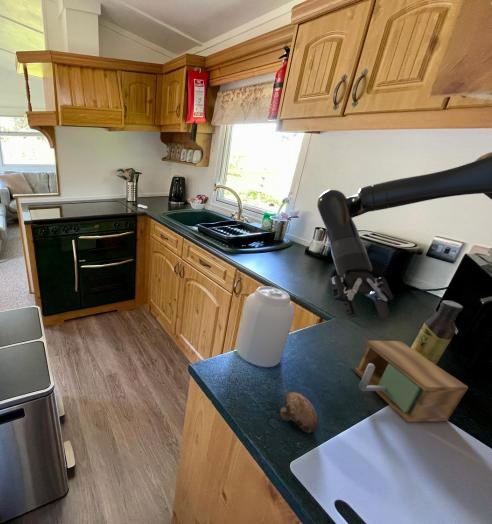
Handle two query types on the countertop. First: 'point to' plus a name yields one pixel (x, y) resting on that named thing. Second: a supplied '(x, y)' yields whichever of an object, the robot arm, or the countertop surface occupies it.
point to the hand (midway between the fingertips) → (369, 317)
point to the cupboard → (414, 380)
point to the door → (392, 386)
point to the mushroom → (299, 412)
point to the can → (265, 326)
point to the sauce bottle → (437, 331)
